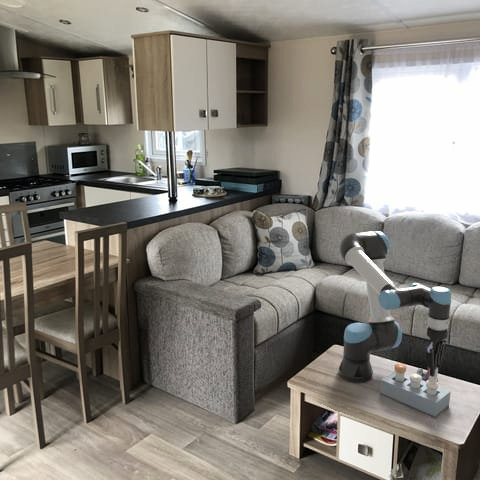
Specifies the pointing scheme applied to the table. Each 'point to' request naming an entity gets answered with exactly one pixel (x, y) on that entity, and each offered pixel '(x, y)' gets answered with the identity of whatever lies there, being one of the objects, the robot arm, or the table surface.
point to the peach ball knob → (400, 372)
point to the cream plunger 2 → (431, 388)
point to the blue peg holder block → (415, 395)
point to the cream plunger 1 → (415, 381)
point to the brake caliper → (424, 374)
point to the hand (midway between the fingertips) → (432, 382)
